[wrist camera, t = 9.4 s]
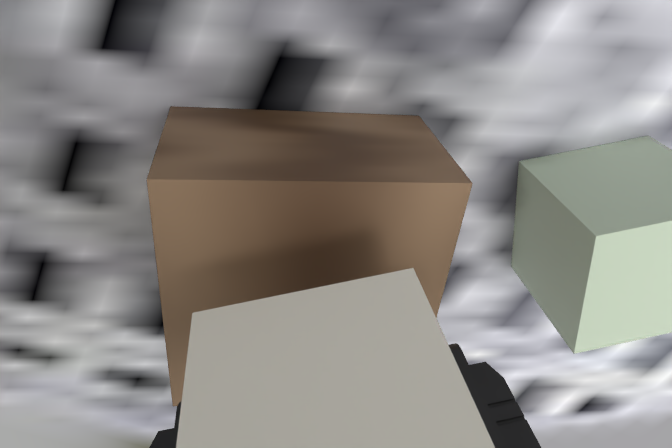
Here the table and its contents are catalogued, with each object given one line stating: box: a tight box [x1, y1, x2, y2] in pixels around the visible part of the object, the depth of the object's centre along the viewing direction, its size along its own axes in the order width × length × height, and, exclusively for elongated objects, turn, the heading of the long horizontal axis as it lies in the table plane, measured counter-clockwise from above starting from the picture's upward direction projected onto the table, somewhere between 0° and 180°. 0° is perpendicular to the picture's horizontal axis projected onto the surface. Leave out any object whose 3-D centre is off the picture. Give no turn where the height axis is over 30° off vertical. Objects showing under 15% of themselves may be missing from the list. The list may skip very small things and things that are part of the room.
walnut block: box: [147, 106, 472, 406], centre depth 17 cm, size 8×8×5 cm
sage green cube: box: [511, 136, 672, 354], centre depth 18 cm, size 5×5×5 cm
